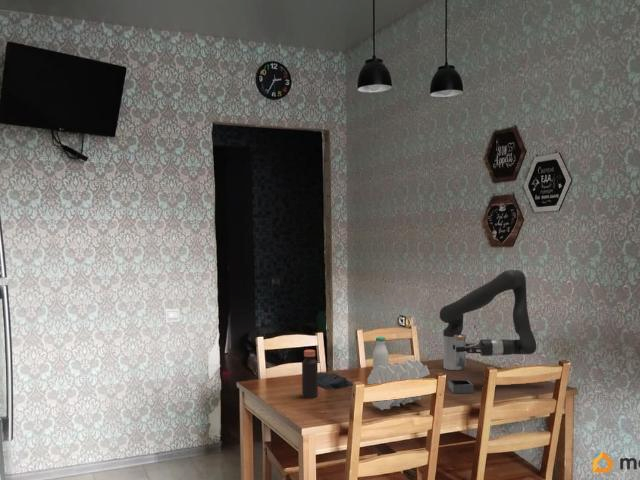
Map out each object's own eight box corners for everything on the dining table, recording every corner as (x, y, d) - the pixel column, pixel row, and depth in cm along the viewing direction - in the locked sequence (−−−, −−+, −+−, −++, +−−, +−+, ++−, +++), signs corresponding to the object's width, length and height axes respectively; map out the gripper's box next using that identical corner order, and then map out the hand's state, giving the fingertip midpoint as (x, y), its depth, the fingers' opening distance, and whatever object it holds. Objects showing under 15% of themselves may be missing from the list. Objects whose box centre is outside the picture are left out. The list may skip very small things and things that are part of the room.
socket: (448, 388, 264) (448, 380, 264) (468, 387, 265) (468, 379, 265) (453, 393, 255) (453, 385, 255) (473, 393, 256) (473, 384, 256)
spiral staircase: (369, 418, 234) (409, 403, 250) (398, 408, 222) (438, 393, 238) (353, 375, 239) (393, 362, 256) (381, 363, 227) (421, 351, 243)
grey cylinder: (453, 364, 269) (452, 334, 269) (464, 364, 269) (464, 334, 269) (456, 367, 263) (455, 336, 263) (468, 366, 264) (467, 336, 264)
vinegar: (312, 399, 248) (311, 352, 248) (299, 397, 252) (298, 351, 251) (320, 395, 254) (320, 350, 254) (307, 393, 257) (307, 348, 257)
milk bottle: (388, 380, 280) (387, 338, 280) (372, 379, 281) (371, 338, 281) (389, 376, 287) (389, 336, 287) (373, 375, 289) (373, 335, 289)
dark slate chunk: (330, 377, 289) (330, 367, 289) (355, 386, 270) (355, 376, 270) (303, 381, 281) (303, 371, 281) (327, 391, 262) (327, 381, 262)
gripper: (486, 336, 274) (450, 337, 273) (496, 342, 259) (458, 343, 259) (486, 352, 274) (450, 353, 273) (496, 358, 259) (458, 359, 259)
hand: (454, 348), depth 266 cm, fingers closed on grey cylinder, 4 cm apart
